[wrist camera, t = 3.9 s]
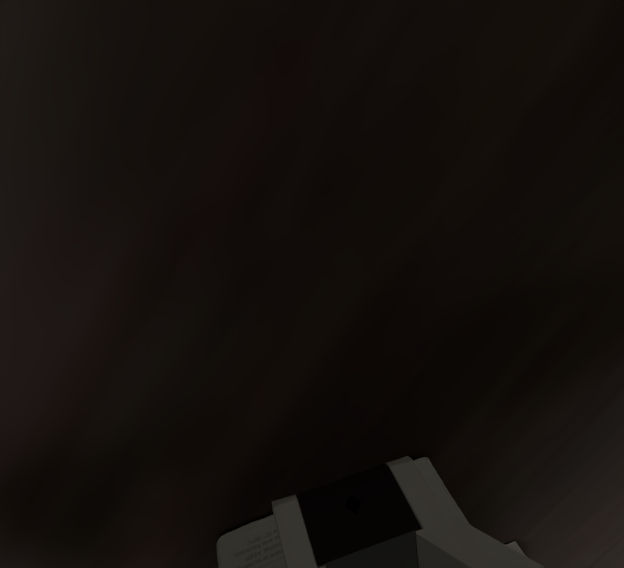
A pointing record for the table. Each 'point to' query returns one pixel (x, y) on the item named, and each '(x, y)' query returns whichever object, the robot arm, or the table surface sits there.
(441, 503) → the supplement box
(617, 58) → the table surface
